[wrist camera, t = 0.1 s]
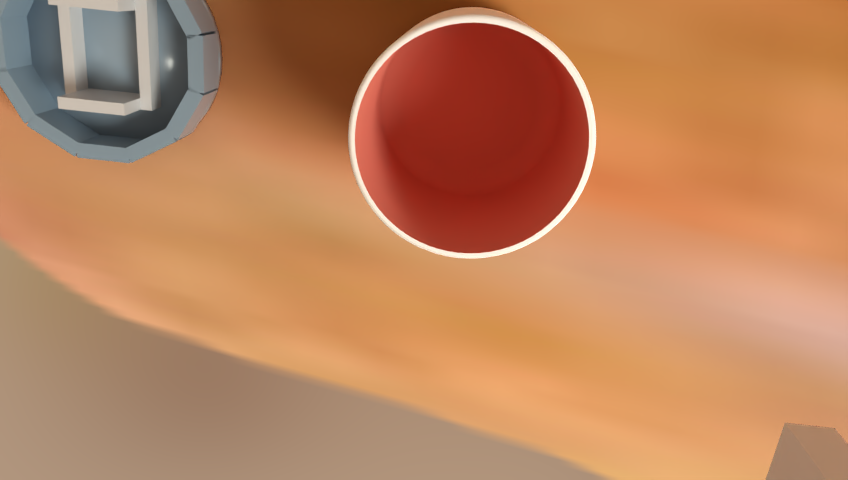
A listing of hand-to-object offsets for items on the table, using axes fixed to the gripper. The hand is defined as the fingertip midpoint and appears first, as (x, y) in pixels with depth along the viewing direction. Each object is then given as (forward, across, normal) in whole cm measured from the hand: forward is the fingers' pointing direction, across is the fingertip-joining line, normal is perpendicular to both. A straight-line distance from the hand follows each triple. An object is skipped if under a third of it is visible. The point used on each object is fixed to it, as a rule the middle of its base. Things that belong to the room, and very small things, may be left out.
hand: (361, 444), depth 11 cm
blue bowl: (+28, -17, +2) cm, 33 cm away
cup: (+28, +2, +1) cm, 28 cm away
